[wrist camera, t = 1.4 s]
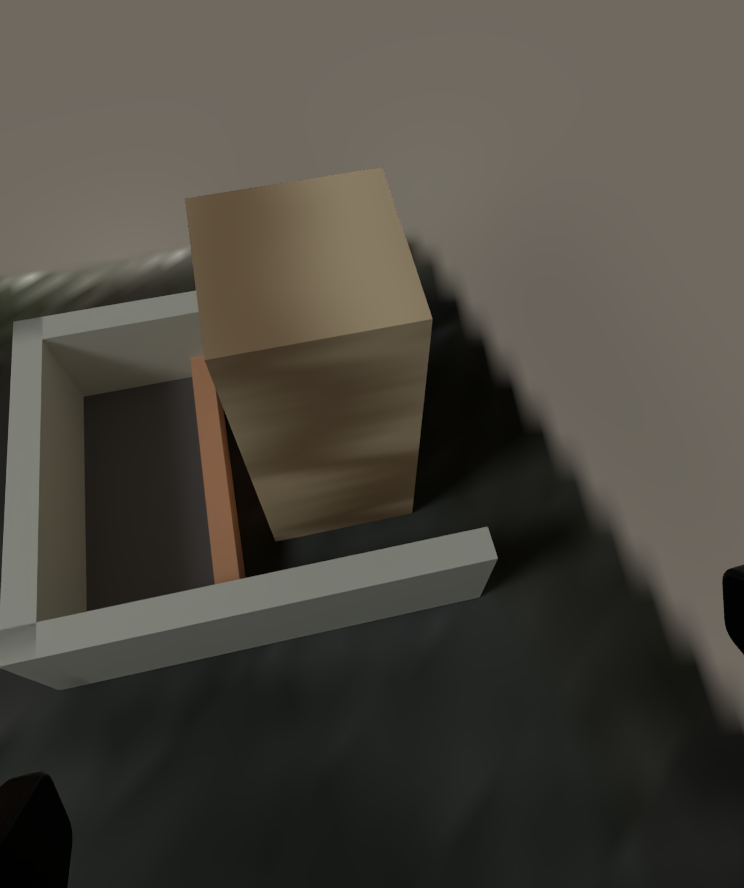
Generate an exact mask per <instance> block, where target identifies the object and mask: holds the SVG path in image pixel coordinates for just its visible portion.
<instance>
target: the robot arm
mask: <svg viewBox="0 0 744 888" xmlns="http://www.w3.org/2000/svg"><path fill="white" fill-rule="evenodd" d="M722 583H723V600H724V619H725V626H726V629H727V632H728V634H729V636H730V638H731V639H732V641H733V642H734V643H735V645H736V646H737V647H738V648H739V649H740V651H741V652H742V653H743V654H744V565H741V566H738V567H734V568H731V569H728V570H727V571H726V572H725V573H724V576H723V582H722ZM71 850H72V828H71V824H70V820H69V818H68V815H67V813H66V811H65V808H64V806H63V804H62V802H61V799H60V797H59V795H58V792H57V790H56V788H55V785H54V783H53V781H52V779H51V777H50V776H49V774H48V773H47V772H44V771H41V770H39V771H35V772H32V773H29V774H25V775H22V776H18V777H15V778H12V779H10V780H8V781H6V782H5V783H4V784H3V785H2V786H1V787H0V888H67V885H68V876H69V867H70V859H71Z"/></svg>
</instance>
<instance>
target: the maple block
mask: <svg viewBox="0 0 744 888" xmlns="http://www.w3.org/2000/svg"><path fill="white" fill-rule="evenodd" d="M185 203H186V210H187V219H188V228H189V236H190V244H191V253H192V261H193V269H194V277H195V286H196V294H197V302H198V311H199V319H200V327H201V335H202V344H203V352H204V360H205V363H206V365H207V368H208V370H209V373H210V376H211V378H212V381H213V383H214V386H215V388H216V391H217V393H218V396H219V399H220V401H221V404H222V406H223V409H224V411H225V414H226V416H227V419H228V422H229V424H230V427H231V429H232V432H233V434H234V437H235V439H236V442H237V445H238V447H239V450H240V452H241V455H242V457H243V460H244V462H245V465H246V468H247V470H248V473H249V475H250V478H251V480H252V483H253V485H254V488H255V491H256V493H257V496H258V498H259V501H260V503H261V506H262V508H263V511H264V514H265V516H266V519H267V521H268V524H269V526H270V529H271V531H272V534H273V536H274V539H275V542H277V541H281V540H286V539H291V538H296V537H301V536H305V535H310V534H315V533H320V532H325V531H329V530H334V529H339V528H344V527H349V526H353V525H358V524H363V523H368V522H373V521H378V520H382V519H387V518H392V517H397V516H402V515H406V514H411V513H412V509H413V500H414V490H415V481H416V471H417V462H418V452H419V443H420V433H421V424H422V414H423V405H424V395H425V386H426V376H427V367H428V358H429V348H430V339H431V329H432V320H433V319H432V316H431V313H430V310H429V307H428V304H427V301H426V298H425V295H424V292H423V289H422V286H421V282H420V279H419V276H418V273H417V270H416V267H415V264H414V261H413V258H412V255H411V252H410V249H409V246H408V243H407V240H406V237H405V234H404V231H403V228H402V225H401V222H400V220H399V216H398V213H397V210H396V207H395V204H394V201H393V198H392V195H391V192H390V189H389V186H388V183H387V180H386V177H385V174H384V171H383V168H382V167H381V168H375V169H369V170H362V171H357V172H350V173H343V174H338V175H331V176H325V177H318V178H312V179H306V180H299V181H293V182H287V183H280V184H274V185H268V186H262V187H255V188H249V189H243V190H236V191H230V192H224V193H217V194H212V195H205V196H198V197H193V198H186V199H185Z"/></svg>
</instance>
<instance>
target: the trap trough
mask: <svg viewBox="0 0 744 888" xmlns="http://www.w3.org/2000/svg"><path fill="white" fill-rule="evenodd" d="M497 559H498V557H497V554H496V551H495V548H494V545H493V542H492V539H491V536H490V532H489V529H488V527H484V528H479V529H474V530H470V531H465V532H460V533H456V534H451V535H446V536H441V537H437V538H432V539H427V540H423V541H418V542H413V543H408V544H404V545H399V546H394V547H390V548H385V549H380V550H375V551H371V552H366V553H361V554H356V555H352V556H347V557H342V558H338V559H333V560H328V561H323V562H319V563H314V564H309V565H305V566H300V567H295V568H290V569H286V570H281V571H276V572H272V573H267V574H262V575H257V576H253V577H248V578H246V576H245V569H244V561H243V554H242V546H241V539H240V531H239V523H238V516H237V508H236V501H235V493H234V485H233V478H232V470H231V463H230V455H229V447H228V440H227V432H226V425H225V417H224V410H223V406H222V404H221V401H220V399H219V396H218V393H217V391H216V388H215V386H214V383H213V381H212V378H211V376H210V373H209V370H208V368H207V365H206V363H205V360H204V352H203V344H202V335H201V327H200V319H199V311H198V302H197V294H196V291H191V292H185V293H180V294H174V295H168V296H162V297H156V298H150V299H145V300H139V301H133V302H127V303H121V304H115V305H109V306H104V307H98V308H92V309H86V310H80V311H74V312H68V313H63V314H57V315H51V316H45V317H39V318H33V319H28V320H22V321H16V322H14V325H13V346H12V367H11V388H10V409H9V431H8V452H7V473H6V494H5V515H4V537H3V558H2V579H1V600H0V668H1V669H4V670H7V671H9V672H12V673H15V674H17V675H20V676H23V677H25V678H28V679H31V680H33V681H36V682H39V683H41V684H44V685H47V686H49V687H52V688H55V689H57V690H64V689H68V688H73V687H77V686H82V685H86V684H91V683H95V682H100V681H104V680H109V679H113V678H118V677H122V676H127V675H131V674H136V673H140V672H145V671H149V670H154V669H158V668H163V667H167V666H172V665H176V664H181V663H185V662H190V661H194V660H199V659H203V658H208V657H212V656H217V655H221V654H226V653H230V652H235V651H240V650H244V649H249V648H253V647H258V646H262V645H267V644H271V643H276V642H280V641H285V640H289V639H294V638H298V637H303V636H307V635H312V634H316V633H321V632H325V631H330V630H334V629H339V628H343V627H348V626H352V625H357V624H361V623H366V622H370V621H375V620H379V619H384V618H388V617H393V616H397V615H402V614H406V613H411V612H415V611H420V610H424V609H429V608H433V607H438V606H442V605H447V604H451V603H456V602H460V601H465V600H470V599H474V598H479V597H480V596H481V594H482V591H483V589H484V587H485V585H486V583H487V581H488V579H489V576H490V574H491V572H492V570H493V568H494V566H495V564H496V561H497Z"/></svg>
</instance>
